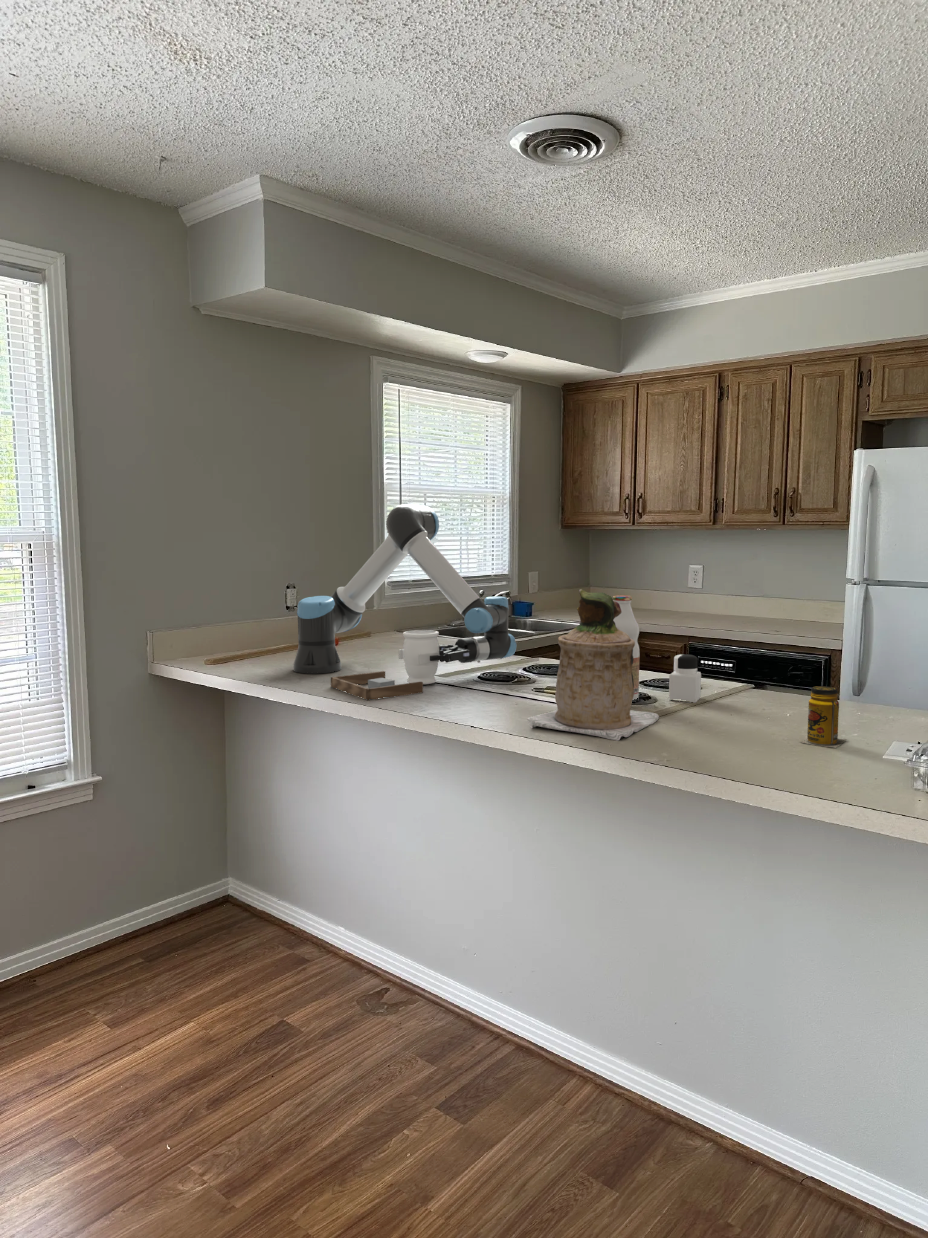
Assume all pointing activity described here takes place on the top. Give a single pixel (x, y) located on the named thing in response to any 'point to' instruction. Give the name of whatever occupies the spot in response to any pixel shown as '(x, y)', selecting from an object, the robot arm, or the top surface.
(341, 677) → the tray
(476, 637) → the robot arm
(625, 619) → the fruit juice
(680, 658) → the medicine bottle
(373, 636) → the top surface
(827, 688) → the condiment
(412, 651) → the jar
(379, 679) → the tile
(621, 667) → the cookie jar
